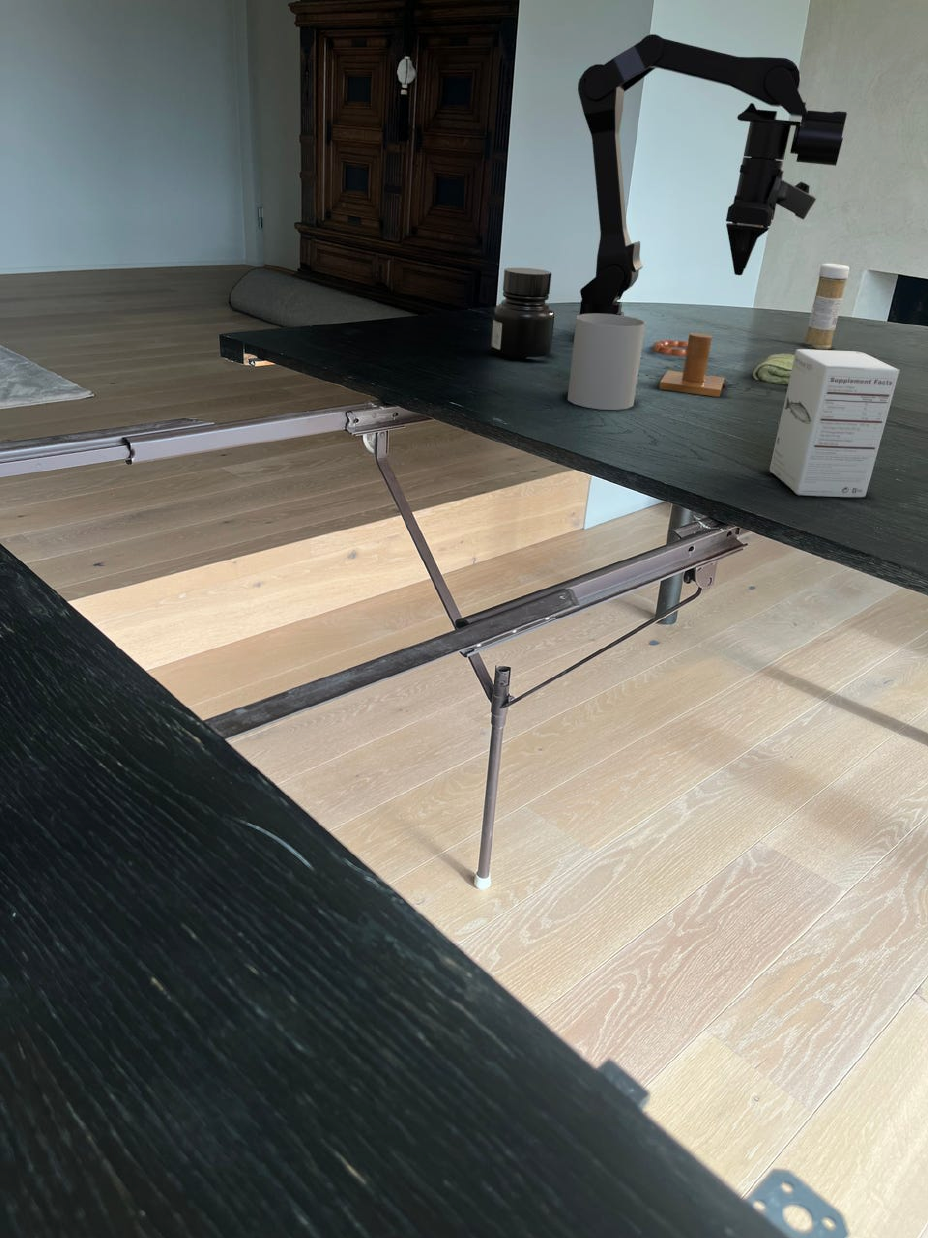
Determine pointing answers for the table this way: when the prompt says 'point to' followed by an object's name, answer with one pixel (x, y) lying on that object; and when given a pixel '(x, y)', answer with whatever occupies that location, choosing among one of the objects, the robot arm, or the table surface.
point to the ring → (663, 348)
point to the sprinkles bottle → (826, 305)
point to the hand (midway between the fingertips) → (740, 271)
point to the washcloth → (775, 369)
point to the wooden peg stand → (694, 370)
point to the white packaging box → (832, 422)
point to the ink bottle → (523, 315)
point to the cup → (605, 361)
